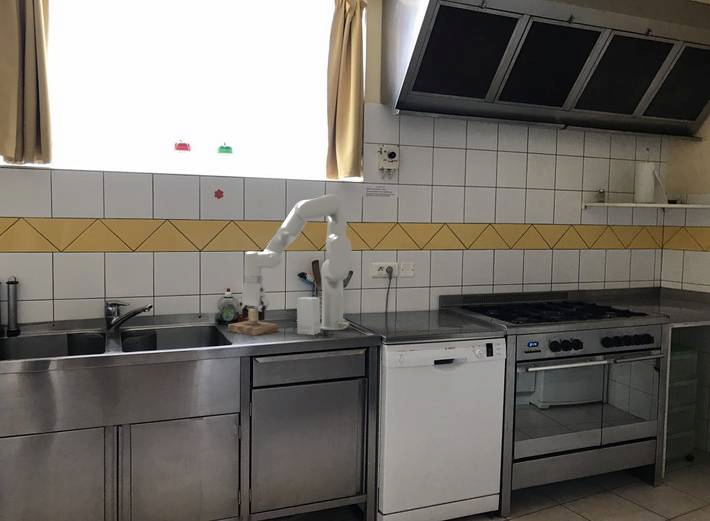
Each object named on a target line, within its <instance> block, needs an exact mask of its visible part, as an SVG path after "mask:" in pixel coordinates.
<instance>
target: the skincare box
mask: <svg viewBox="0 0 710 521" xmlns="http://www.w3.org/2000/svg"><path fill="white" fill-rule="evenodd" d="M320 301H321V298H320V297H316V296H302V297H297V298H296V317H297V318H296V321H297V322H296V323H297V324H296V325H297V326H296V327H297V334H298V335H306V334H307V336H316V335H318V333H319V334H321V329H320V324H321V304H320V303H321V302H320ZM315 334H316V335H315Z"/></svg>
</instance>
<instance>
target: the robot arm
mask: <svg viewBox="0 0 710 521" xmlns="http://www.w3.org/2000/svg"><path fill="white" fill-rule="evenodd" d="M342 202H343V201H342V200H341V198H340V196H338V195H336V194H332V193H330V194H325V195H322V196H320V197H316V198H311V199H304V200H303V199H302V200H300V201H298V202H296V204H295V205H294V206H293V207H292V209H291V210H290V212H289V214H288V215H287V216H286V218H285V220H284V221H283V223H282V224H281V225H280V227H279V228H278V230H277V231H276V233H275V234H274V235H273V236H272V238H271V239H270V241H269V242H268V244H267V246H266V247H265V248H264V250H263V251H262V252H261V251H256V250H255V251H254V250H250V251H246V252H245V253H244V283H243V287H242V292H241V293H242V296H240V297H238V298H237V299H238V300H237V301H238V303H239V306H240V309H241V318H242V319H249V307H253V308H258V321H259V322H262V321H265V312H266V310H267V308H268V306H269V305H270V304H269V303H270V302H269V300H267V299H266V290H265V285H264V283H263V282H264V278H263V268H264V269H271V270H273V269H277V268H278V267H279V266H281V262H282V258H281V256H282V254H283V253H284V251H285V249H286V248H287V247H288V246H289V245H290V244H292V243H293V242H294V241H295V240H297V238H298V237H299V235H300V234H301V232H302V230H303V229H304V228H305V226H306V225H307V223H308V221H309V220H313V219H319V218H322V217H326V219H327V230H326V231H327V232H326V240H325V250H326V251H327V253H328V254H329V258H327V259H326V260H324V262H323V263H322V266H321V267H320V268H321V269H320V270H321V271H320V272H321V273H320V274H321V285H322V286H321V291H322V292H321V323H320V330H323V331H343V330H346V329H347V327H349V325H350V321H346V318H345V317H344V280H346V279H347V277H349V273H350V267H351V259H352V243H351V240H350V238H349V237H347V222H348V221H347V216H346V213H345V211H344V208H343V207H342V206H343V203H342Z"/></svg>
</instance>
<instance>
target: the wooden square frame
mask: <svg viewBox="0 0 710 521" xmlns="http://www.w3.org/2000/svg"><path fill="white" fill-rule="evenodd" d="M248 324H249V320H245V321H242V322H241V321H240V322H236V323H235V322H233V323H230V324H228V325H227V328H228V329H227V332H229V331H232V332H231V333H235V332H237V334H241V333H243V335H247V334H249V335H248V336H253V335H256V336H260V335H259V334H261V335H265V334H264V333H266V334H270V333H269V332H271V333H275V332H274V331H276V332H278V330H279V324H278V323H271V322H264V321H259V320H258V325H256V326H250V325H248Z"/></svg>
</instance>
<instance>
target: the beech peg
mask: <svg viewBox="0 0 710 521" xmlns="http://www.w3.org/2000/svg"><path fill="white" fill-rule="evenodd" d="M258 311H259V309H258V307H248V321H249V324H248V325H250V326H256V325H258V321H259V320H258Z"/></svg>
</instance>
